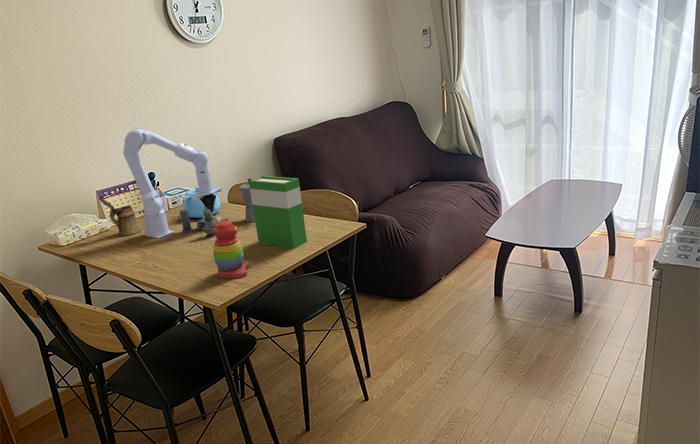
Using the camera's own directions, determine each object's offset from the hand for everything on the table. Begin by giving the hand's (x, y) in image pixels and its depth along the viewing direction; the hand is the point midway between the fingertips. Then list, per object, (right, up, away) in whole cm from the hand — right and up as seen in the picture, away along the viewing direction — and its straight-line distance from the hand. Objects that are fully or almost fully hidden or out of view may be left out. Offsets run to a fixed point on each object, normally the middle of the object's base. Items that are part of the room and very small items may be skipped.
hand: (210, 212), depth 218 cm
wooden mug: (-38, -9, +5) cm, 39 cm away
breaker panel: (+1, -6, +2) cm, 7 cm away
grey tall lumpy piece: (+3, -10, -9) cm, 14 cm away
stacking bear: (+20, -21, -48) cm, 56 cm away
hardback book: (+33, -12, -25) cm, 43 cm away
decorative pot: (-9, -1, +21) cm, 23 cm away
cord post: (-10, -8, 0) cm, 12 cm away
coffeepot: (+18, -3, +6) cm, 20 cm away
